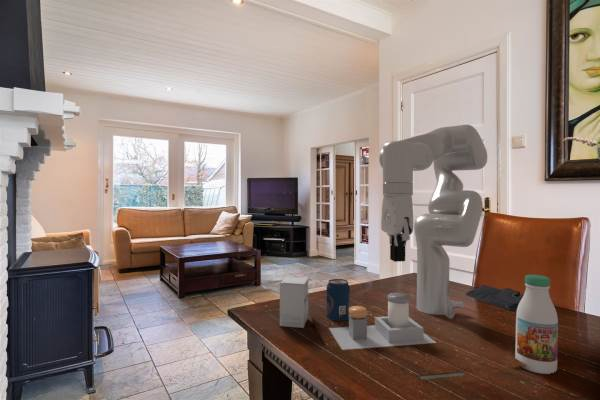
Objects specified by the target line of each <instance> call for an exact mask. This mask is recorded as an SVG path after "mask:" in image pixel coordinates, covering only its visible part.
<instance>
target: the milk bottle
mask: <svg viewBox="0 0 600 400" xmlns="http://www.w3.org/2000/svg"><path fill="white" fill-rule="evenodd" d="M524 286H525V291H524V293H523V294H524V296H523V297H522V299H521V301H520V303H519V305H518V308H517V312H516V315H515V317H516V318H515V349H514V350H515V353H514V355H515V356H514V357H515V360H518V362H520V363H522V364H523V365H520V367H521V368H523V369H524V370H527V371H529V372H531V373H535V374H540V375H552V374H551V373H553V374H555V373H556V372H557V370H558V348H559V347H558V345H559V344H558V343H559V342H558V341H559V324H558V323H559V319H558V318H559V317H558V313H557V310H556V308H555V305H554V303H553V301H552V299H551V296H550V293H549V289H551V279H550V278H549V277H547V276H545V275H538V274H527V275H525V276H524ZM554 372H555V373H554Z"/></svg>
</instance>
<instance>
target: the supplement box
mask: <svg viewBox="0 0 600 400" xmlns="http://www.w3.org/2000/svg"><path fill="white" fill-rule="evenodd" d="M308 320H309V278H308V277H293V276H292V277H290V276H286V277H284V278H283V280H282V281H281V282H279V326H280V327H286V328H287V327H290V328H300V329H301V328H302V329H304V328H305V325H306V323H307V321H308Z"/></svg>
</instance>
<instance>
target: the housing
mask: <svg viewBox="0 0 600 400" xmlns="http://www.w3.org/2000/svg"><path fill="white" fill-rule="evenodd" d="M328 330H329V331H330V333H331V335H332V336H333V338H334V339H335V341H336V343H337V344H338V346H339V347H340V349H341V350H342V351H347V350H357V349H358V350H359V349H370V348H386V347H387V348H388V347H398V346H412V345H425V344H426V345H427V344H436V343H437V342H436V341H435V340H434V339H433V338H431V337H430V336H429V335H428V334H426V333H425V331H424V327H423V326H421V325H420V324H419V323H418V322H417V321H414V319H412V318H411V317H410V316H409V327H404V328H391V327H389V326H388V315H386V316H375V317H374V325H372V324H371V325H368V319H367V318H366V317H364V318H361V319H355V318H354V317H351V316H350V315H349V319H348V326H343V327H329V328H328Z"/></svg>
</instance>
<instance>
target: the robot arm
mask: <svg viewBox="0 0 600 400" xmlns="http://www.w3.org/2000/svg"><path fill="white" fill-rule="evenodd" d="M378 157H379V158H378V159H379V160H378V161H379V165H380V167H381V168H382V196H383V198H382V203H381V204H382V205H381V221H380V223H381V224H380V225H381V226H380V228H381V231H383V232H384V233H386V234H387V236H388V237H389V238H388V239H389V240H388V241H389V246H390V247H389V248H390V249H389V250H390V251H389V255H390V256H389V259H390V260H391V261H393V262H394V263H395V262H396V263H397V262H398V263H399V262H405V261H406V247H407V242H408V241H410V239H411V237H410V236H411V235H412V234H413V233H414V236H415V243H416V304H415V305H414V307H416V310H417V311H419V312H421V313H423V314H426V315H427V314H428V315H433V316H434V315H436V316H439V315H440V316H443V315H444V316H445V317H447V318H448V319H450V320H452V319H454V318H455V312H454V311H453V310H455V309H463V308H464V305H465V304H464V302H462V301H455V300H453V299H452V300H450V264H451V262H450V257H449V255H448V253H447V251H446V250H445V248H444V247H443V246H448V247H457V248H466V247H469V246H471V245H472V244H473V242H474V241H475V238H476V235H477V231H478V228H479V225H480V221H481V217H482V213H483V198H482V196H481V194H480V193H478V192H477V191H474V190H467V189H466V190H465V189H464V184H463V181H462V180H461V178H459V176H458V175H456V174H455V173H454V172H455V171H457V172H458V171H475V170H476V171H477V170H481V169H483V168H485V166H486V165H487V163H488V152H487V148H486V145H485V144H484V142H483V140H482V137H481V136H480V134H479V132H478V130H477V129H476V128H475V127H474V126H472V125H470V124H460V125H451V126H443V127H438V128H436V129H433V130H431V131H429V132H426V133H423V134H420V135H419V134H418V135H415V136H412V137H409V138H405V139H401V140H396V141H395V140H394V141H392V140H391V141H388V142H385V143H384V144H383V146H382V149H381V150H380V153H379V155H378ZM432 164H433V170H434V175H435V178H436V185H435V186H434V189H433V192H432V195H431V197H430V199H429V203H428V212H429V213H423V214H421V215H419V216H418V217H417V218H416V219H415V221H414V206H413V197H412V196H413V195H414V172H418V171H419V172H420V171H424V170H427V169H429V168H430V167H431V166H432ZM453 171H454V172H453ZM463 189H464V190H463Z"/></svg>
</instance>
